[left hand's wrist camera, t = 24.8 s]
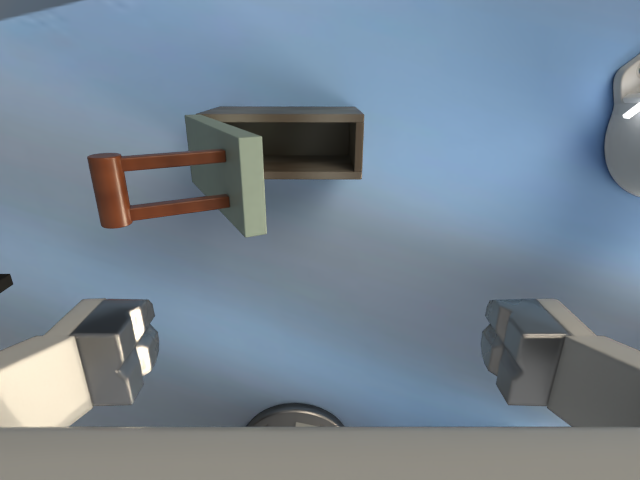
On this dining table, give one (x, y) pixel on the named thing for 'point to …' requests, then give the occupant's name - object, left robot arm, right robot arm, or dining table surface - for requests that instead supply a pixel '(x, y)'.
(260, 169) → the lid
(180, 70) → the dining table surface
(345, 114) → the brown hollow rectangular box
